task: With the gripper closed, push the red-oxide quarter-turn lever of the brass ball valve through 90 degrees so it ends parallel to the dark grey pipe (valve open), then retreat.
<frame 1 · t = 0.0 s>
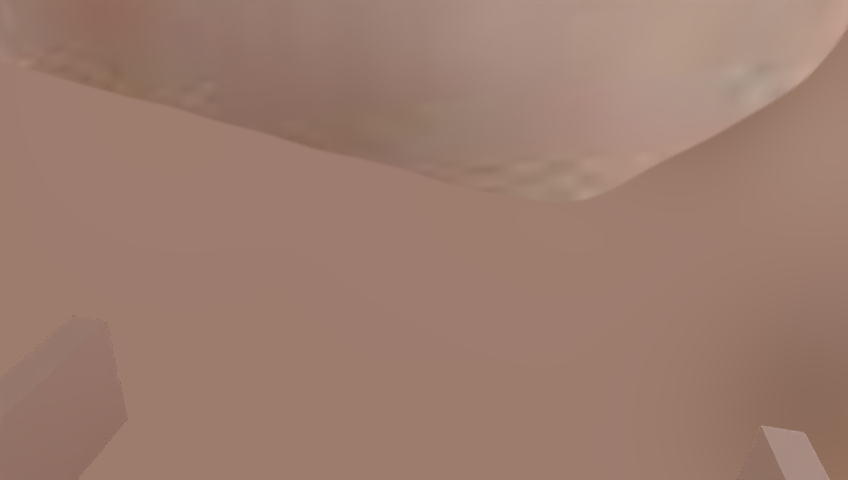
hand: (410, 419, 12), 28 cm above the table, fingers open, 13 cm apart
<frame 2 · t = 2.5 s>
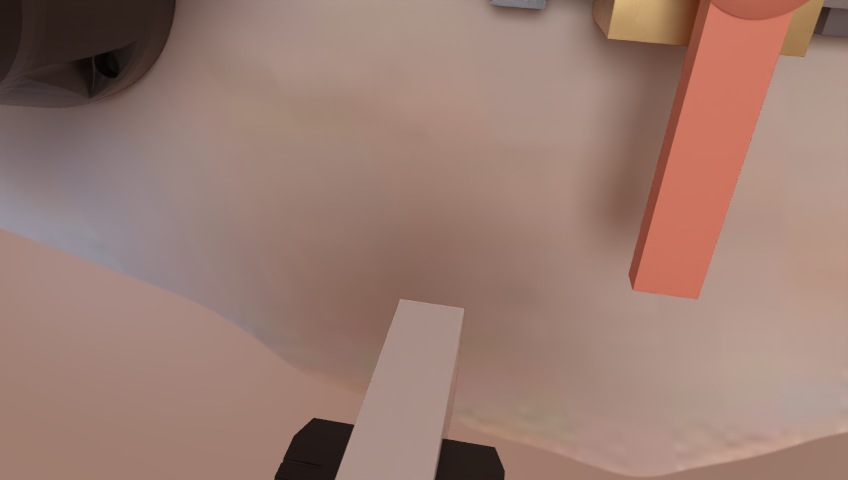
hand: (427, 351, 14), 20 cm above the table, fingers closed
lever: (714, 109, 20), point 10 cm above the table, hinge at -90.0°
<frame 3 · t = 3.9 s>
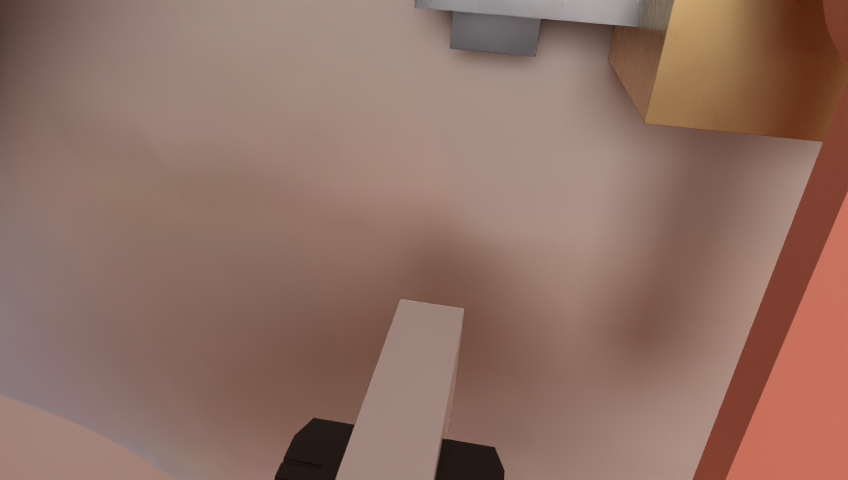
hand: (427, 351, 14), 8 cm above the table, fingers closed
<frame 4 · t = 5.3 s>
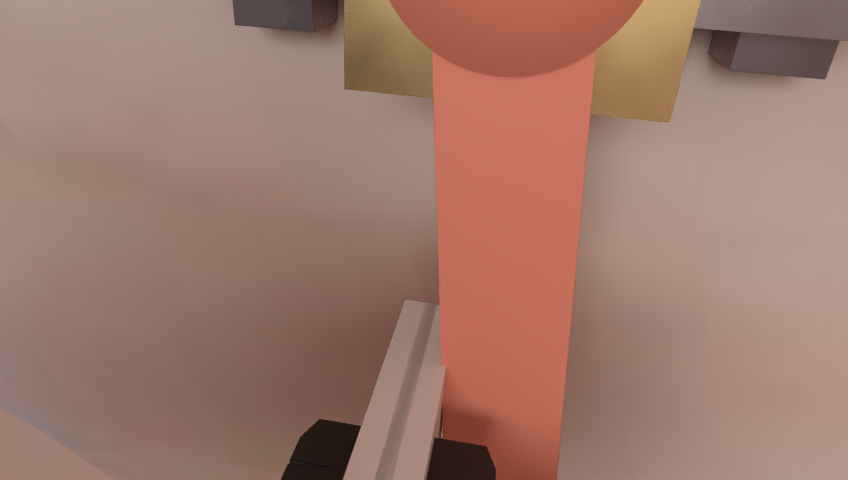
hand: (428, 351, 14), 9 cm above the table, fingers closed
lever: (508, 233, 11), point 10 cm above the table, hinge at -84.5°, touching gripper
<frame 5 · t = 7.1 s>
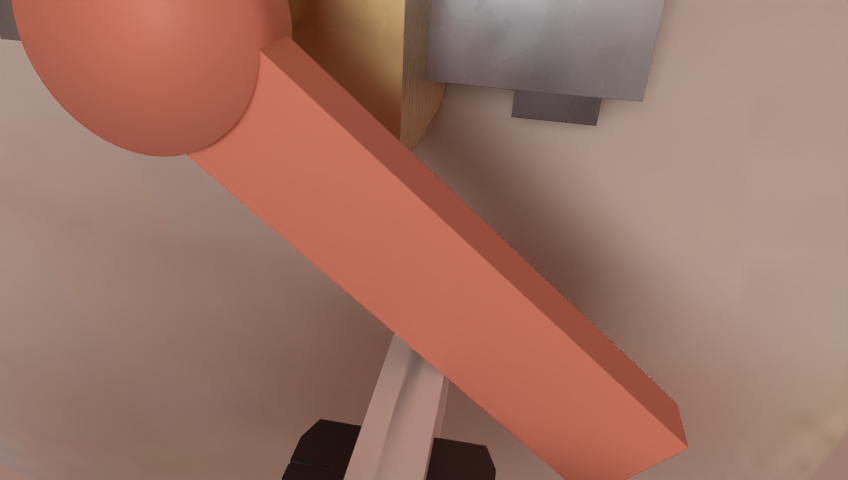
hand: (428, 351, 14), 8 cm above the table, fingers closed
lever: (381, 225, 11), point 10 cm above the table, hinge at -39.4°, touching gripper
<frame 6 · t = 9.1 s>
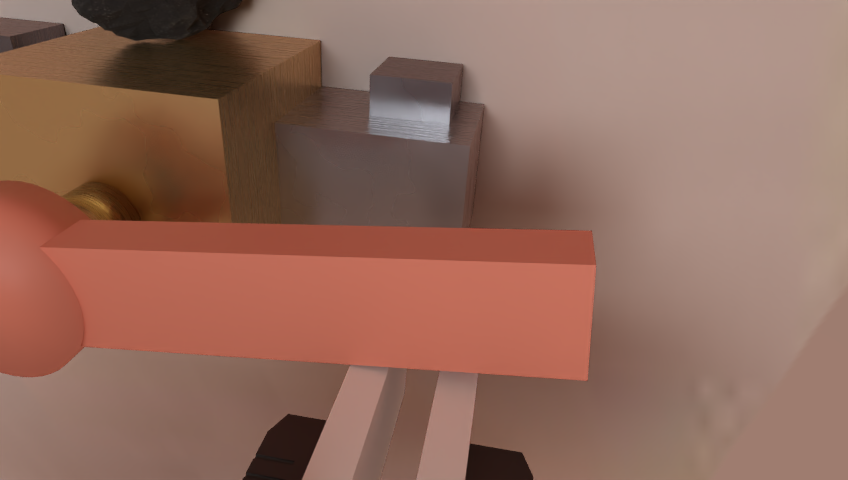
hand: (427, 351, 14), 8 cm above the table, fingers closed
valve: (229, 131, 22), on the table
lever: (228, 289, 12), point 10 cm above the table, hinge at 7.4°, touching gripper
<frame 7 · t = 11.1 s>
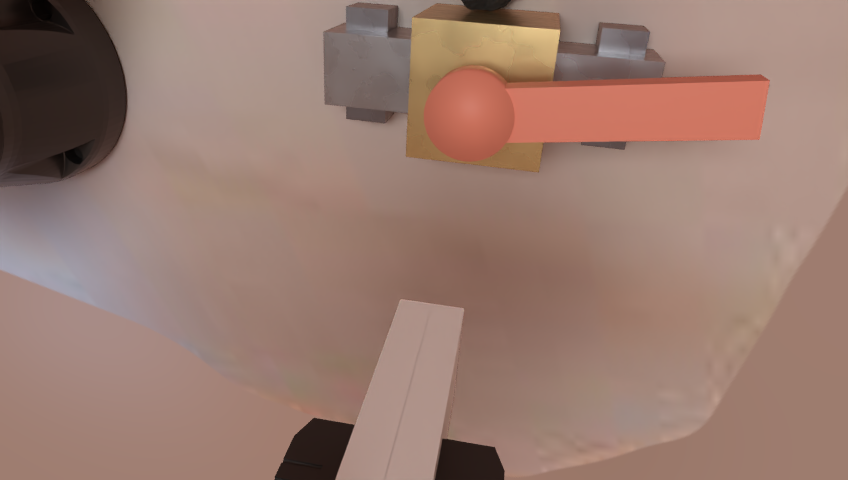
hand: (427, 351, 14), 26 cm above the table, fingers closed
valve: (490, 70, 36), on the table
lever: (584, 111, 26), point 10 cm above the table, hinge at 7.4°
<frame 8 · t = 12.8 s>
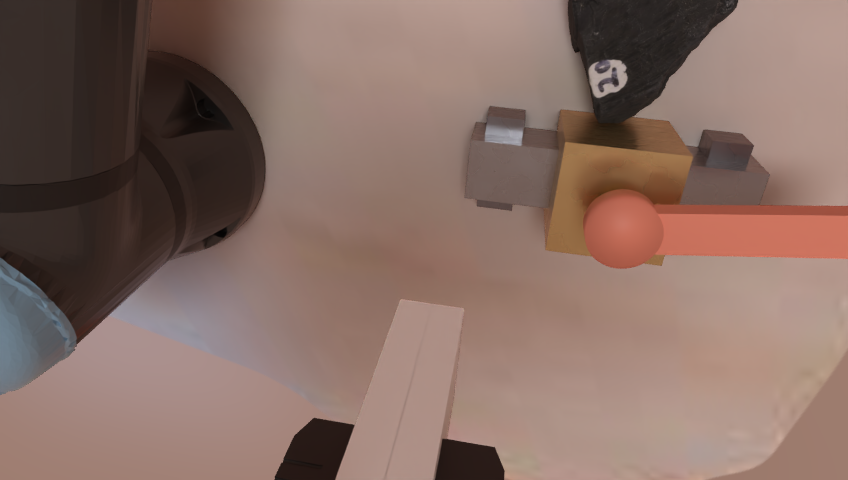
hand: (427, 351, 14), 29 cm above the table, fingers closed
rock: (639, 11, 37), on the table, touching valve
valve: (603, 165, 42), on the table
lever: (720, 230, 32), point 10 cm above the table, hinge at 7.4°
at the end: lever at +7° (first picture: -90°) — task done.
